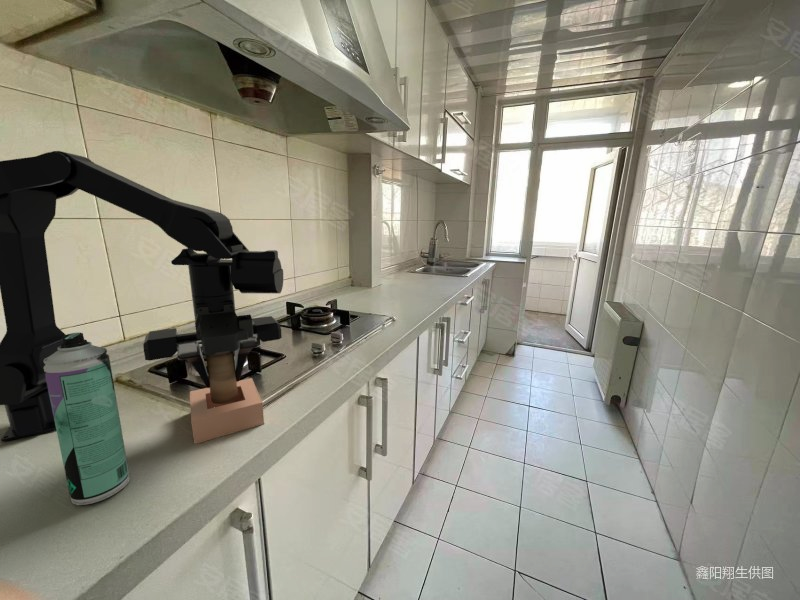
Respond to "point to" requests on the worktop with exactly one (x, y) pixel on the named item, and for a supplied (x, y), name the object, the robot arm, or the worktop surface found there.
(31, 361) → the robot arm
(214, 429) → the socket block
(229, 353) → the peg
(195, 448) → the worktop surface
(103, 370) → the spray can
